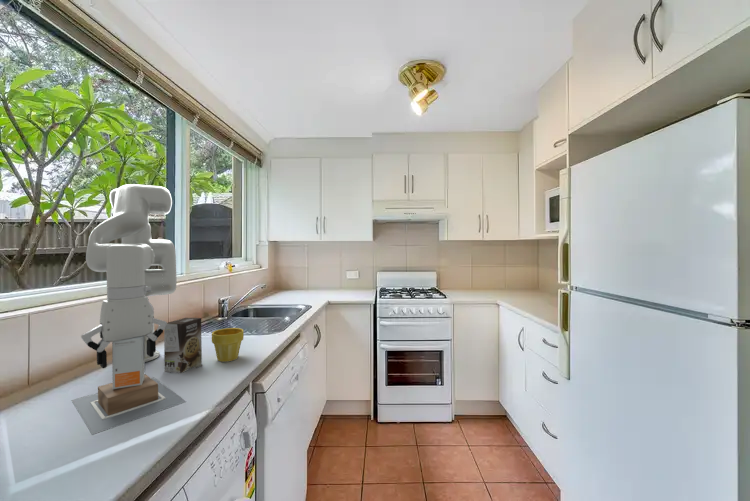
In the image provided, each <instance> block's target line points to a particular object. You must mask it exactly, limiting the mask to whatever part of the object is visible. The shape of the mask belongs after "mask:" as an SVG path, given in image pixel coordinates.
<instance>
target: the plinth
mask: <svg viewBox="0 0 750 501" xmlns="http://www.w3.org/2000/svg"><path fill="white" fill-rule="evenodd" d="M144 375H145V377H144V381H143V383H142V385H138V386H131V387H125V388H118V389H113V387H112V386H113V383H112V382H110V383H105V384H103V385H99V386H97V393H98V403H99V404H100V406H101V407H102V408H103V409H104V411H105V412H106V413H107V415H108V416H109V415H112V414H115V413H118V412H121V411H124V410H127V409H130V408H133V407H136V406H139V405H142V404H146V403H149V402H152V401H155V400H158V383H156V382H155V381H154V380H152V379H151V378H152V377H150V376H149V375H147V374H146V373H144Z"/></svg>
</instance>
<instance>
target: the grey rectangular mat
mask: <svg viewBox="0 0 750 501" xmlns="http://www.w3.org/2000/svg"><path fill="white" fill-rule="evenodd" d="M150 378H151V379H152V380H154V381H155V382H156V383H158V400H155V401H152V402H149V403H146V404H142V405H139V406H136V407H133V408H130V409H127V410H124V411H121V412H118V413H115V414H112V415H109V416H108V415H107V413H106V412H105V411H104V409H103V408H102V407H101V406H100V404H99V403H98V392H95V393H92V394H89V395H85V396H82V397H77V398H74V399H72V400H70V401H71V402H72V404H73V405H74V408H76V411H77V412H78V414H79V416H80V417H81V419H82V420H83V423H84V424H85V425H86V427H87V428H88V430H89V432H90V434H91V435H93V436H94V435H96V434H99V433H102V432H105V431H108V430H110V429H113V428H116V427H118V426H121V425H124V424H127V423H130V422H133V421H135V420H138V419H141V418H145V417H147V416H151V415H154V414H156V413H159V412H162V411H164V410H167V409H170V408H172V407H176V406H179V405H182V404H184V403H186V402H187V400H185V399H183V398H182V397H181V396H180V395H178V394H177V393H175V391H173V390H171V389H170V388H169V387H167V386H166V385H165V384H164V383H162V382H160V381H159V380H158V379H157V378H155V377H153V376H152V377H150Z"/></svg>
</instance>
